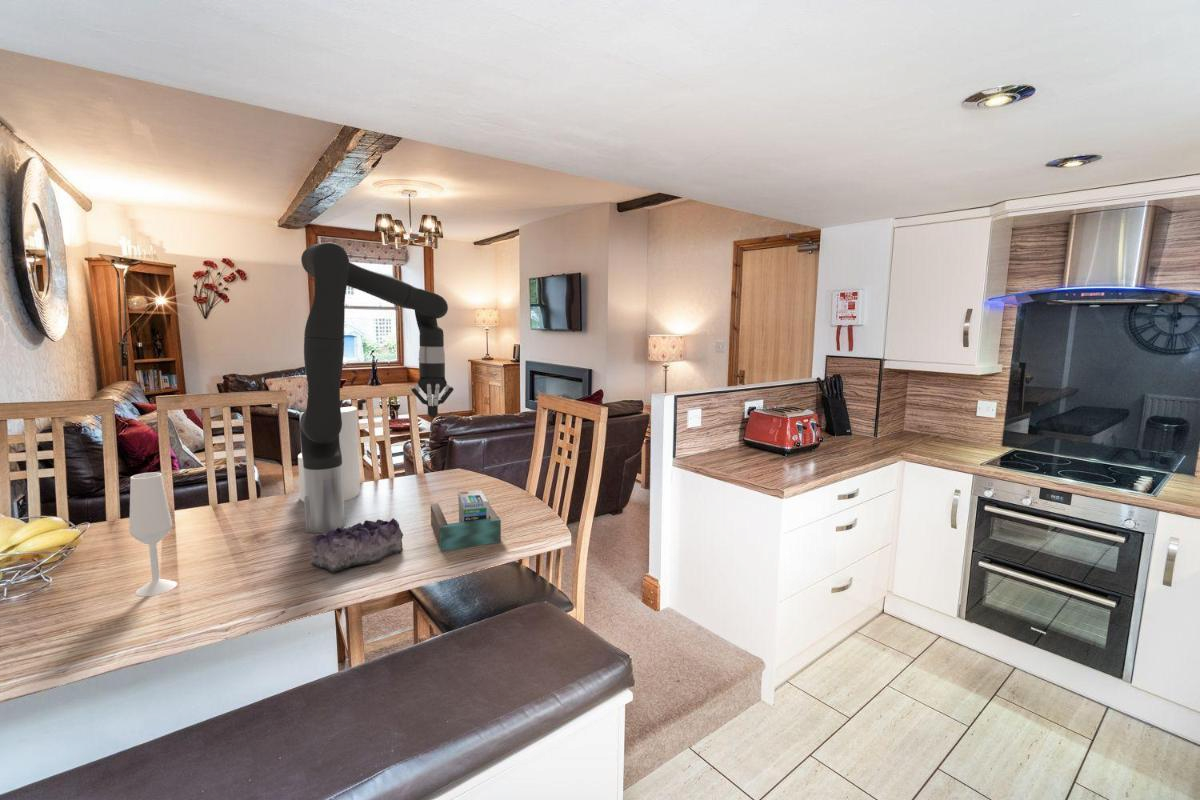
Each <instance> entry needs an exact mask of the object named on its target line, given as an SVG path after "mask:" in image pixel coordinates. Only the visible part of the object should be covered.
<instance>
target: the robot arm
mask: <svg viewBox="0 0 1200 800" xmlns="http://www.w3.org/2000/svg"><path fill="white" fill-rule="evenodd" d="M347 253H348V252H347V251H346V250H345V249H344V248H343V247H342V246H341V245H340V244H338V243H335V242H329V241H327V242H321V243H317V244H316V243H315V244H312V245H310V246H309V247H307V248H306V249H304V251H303V252H302V254H301V266H302V268H303V269H304V271H305V272H306V273H307V274H308V275H309V276H311V277H312V278H314V295H313V300H312V305H311V308H310V311H309V314H308V317H307V319H306V324H305V327H304V333H303V335H304V338H303V339H304V340H303V359H304V369H305V376H306V382H307V401H306V409H305V411H303V412H304V413H303V414H302V416H301V420H300V419H299V432H301V434H300V448H301V447H302V457H303V468H304V486H305V497H304V502H303V504H304V521H305V522H304V523H305V525H304V526H305V533H306V534H307V533H312V534H313V533H314V534H323V533H324V532H325V531H327V530H336V529H337V528H342V529H343V528H344V526H345V523H346V522H345V519H346V518H345V501H344V496H343V473H342V454H341V450H340V442H339V433H340V431H341V428H342V418H341V408H342V407H341V396H340V395H341V393H340V391H341V381H342V375H343V367H344V366H343V365H344V364H343V363H344V354H345V353H344V352H345V317H346V315H345V313H346V310H345V309H346V308H345V306H346V305H345V304H346V303H345V302H346V293H347V292H346V291H347V287H350V288H352V289H356V290H358V291H361V292H363V293H365V294H368V295H370V296H373V297H376V298H378V299H380V300H383V301H385V302H387V303H390V304H392V305H395V306H397V307H400V308H403V309H407V310H413V311H414V316H415V320H416V325H417V328H418V332H419V336H418V337H419V349H418V350H419V351H418V372H419V373H418V375H419V376H418V381H417V384H416V385H414V386H412V387H410V390H411V392H412V393H413V395H414V396H416V398H417V399H418V400H419V401H420V403H421V404H422V405H426V406H427V415H428V416H429V418H430V419H435V418H436V417H437V416H438V413H439V411H438V409H439V408H438V407H439V405H441V404H442V405H443V404H444V403H445V402H446V400H447V399H448V398H449V396H450V395H451V394H452V392H454V387H452V386H450V385H449V384H448V381H447V380H446V355H445V347H444V345H445V344H444V343H445V340H444V339H445V338H444V330H443V329H442V328H441V327H439V325H438V321H437V319H440V318H443V317H445V316H446V314H447V313H448V310H449V306H448V303H447V300H445V298H444V297H442V296H441V295H439V294H437V293H435V292H432V291H429V290H427V289H423V288H419V287H415V286H413V285H411V284H409V283H408V282H405V281H403V280H400V279H399V278H396V277H393V276H390V275H388V274H384V273H381V272H378V271H374V270H372V269H371V270H370V269H367V268H365V267H361V266H359V265H357V264H354V263H353V262H350V258H349V255H348V254H347ZM420 389H421V390H420ZM421 391H422V392H423V393H424V394H425V396H426V399H425V398H424V397H423V396H422V395H421V393H420V392H421ZM442 391H444V393H443V394H442V395H441V397H440V398H439V396H440V394H441V393H442Z"/></svg>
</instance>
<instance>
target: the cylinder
mask: <svg viewBox="0 0 1200 800" xmlns="http://www.w3.org/2000/svg"><path fill="white" fill-rule="evenodd" d="M304 412H305V411H302V412H299V413H298V414H299V421H300V420H301V416H302V414H303V413H304ZM341 418H342V428H341V431H340V433H339V442H340V450H341V454H342V473H343V496H344V502H346V501H348V500H351V499H354V498H356V497H358V496H359V495H360V494H361V481H360V479H361V478H360V455H359V454H360V453H359V451H360V450H359V431H358V428H359V427H358V426H359V424H358V408H357V406H345V407H341ZM299 432H300V431H299ZM299 434H300V435H301V432H300V433H299ZM300 448H301V449H300V450H301V452H300V453H299V454H298V455H297V465H298V467H297V468H298V483H299V499H300V501H301V502H303V503H304V497H305V486H304V468H303V457H302V447H301V446H300Z"/></svg>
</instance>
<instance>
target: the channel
mask: <svg viewBox="0 0 1200 800" xmlns="http://www.w3.org/2000/svg"><path fill="white" fill-rule="evenodd" d="M501 521H502V519H501V518H500V516H499V515H498V513H497V512H496V511H495V510H494V509H493V507H492V506H491V505H490V503H489V519H481V520H473V521H465V522H459V521H457V522H453V523H452V522H451V523H448V521H447V519H446V517H445V515H444V513H443V510H442V508H441V506H440V504H439V502H435V503H430V526H431V528H432V530H433V533H434V536H435V539H436V542H437V544H438V547H439V550H440V551H441V552H442V551H451V550H457V549H463V548H469V547H477V546H483V545H484V546H485V545H492V544H496V543H497V544H498V543H502V538H501V537H502V536H501V535H502V534H501V533H502V528H501V527H502V523H501Z"/></svg>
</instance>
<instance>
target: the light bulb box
mask: <svg viewBox="0 0 1200 800" xmlns="http://www.w3.org/2000/svg"><path fill="white" fill-rule="evenodd" d="M457 493H458V495H457V496H458V522H465V521H473V520H481V519H489V504H490V501H489V499H488V497H486V495H485V493H484V491H483V490H481V489H478V490H469V491H458V492H457Z"/></svg>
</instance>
